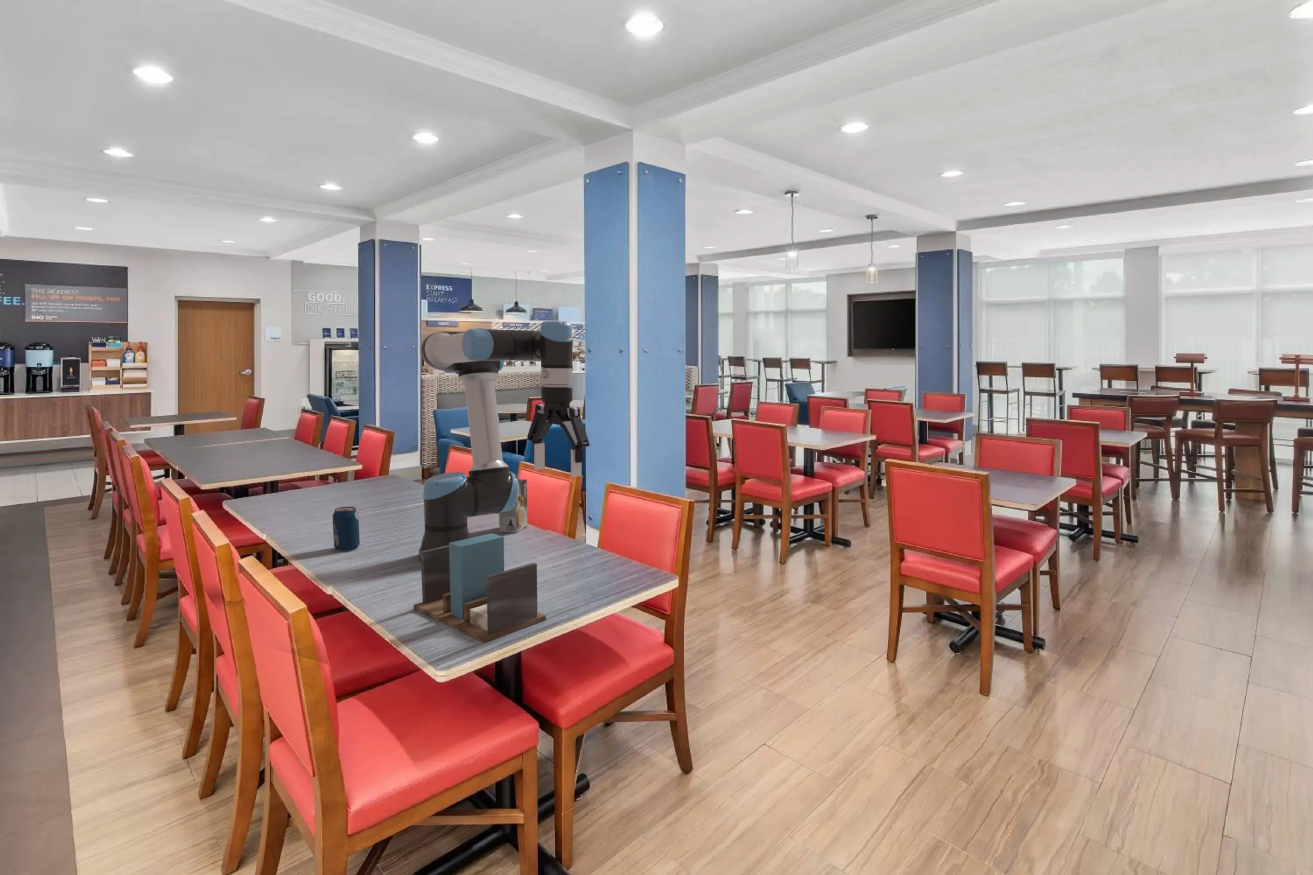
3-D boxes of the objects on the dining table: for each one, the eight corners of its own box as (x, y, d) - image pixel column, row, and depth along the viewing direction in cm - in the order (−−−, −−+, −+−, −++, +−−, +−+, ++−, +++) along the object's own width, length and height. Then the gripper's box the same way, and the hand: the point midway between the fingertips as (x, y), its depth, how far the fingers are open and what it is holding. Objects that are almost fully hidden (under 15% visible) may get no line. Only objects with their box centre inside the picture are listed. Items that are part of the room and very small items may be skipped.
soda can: (364, 545, 204) (362, 506, 203) (352, 552, 197) (350, 511, 196) (342, 545, 205) (340, 505, 203) (329, 551, 198) (327, 511, 197)
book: (450, 614, 149) (449, 542, 147) (492, 600, 157) (491, 533, 156) (462, 619, 146) (460, 546, 144) (504, 605, 155) (503, 536, 153)
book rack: (413, 608, 155) (411, 553, 153) (474, 590, 167) (472, 538, 165) (484, 642, 137) (482, 579, 136) (545, 619, 149) (545, 562, 148)
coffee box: (510, 525, 230) (509, 478, 228) (528, 526, 229) (527, 479, 227) (498, 532, 221) (497, 483, 219) (517, 533, 220) (516, 484, 218)
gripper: (512, 384, 170) (513, 468, 173) (580, 388, 154) (580, 481, 157) (536, 383, 176) (536, 464, 179) (604, 387, 160) (604, 476, 162)
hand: (557, 472), depth 168 cm, fingers open, 13 cm apart
